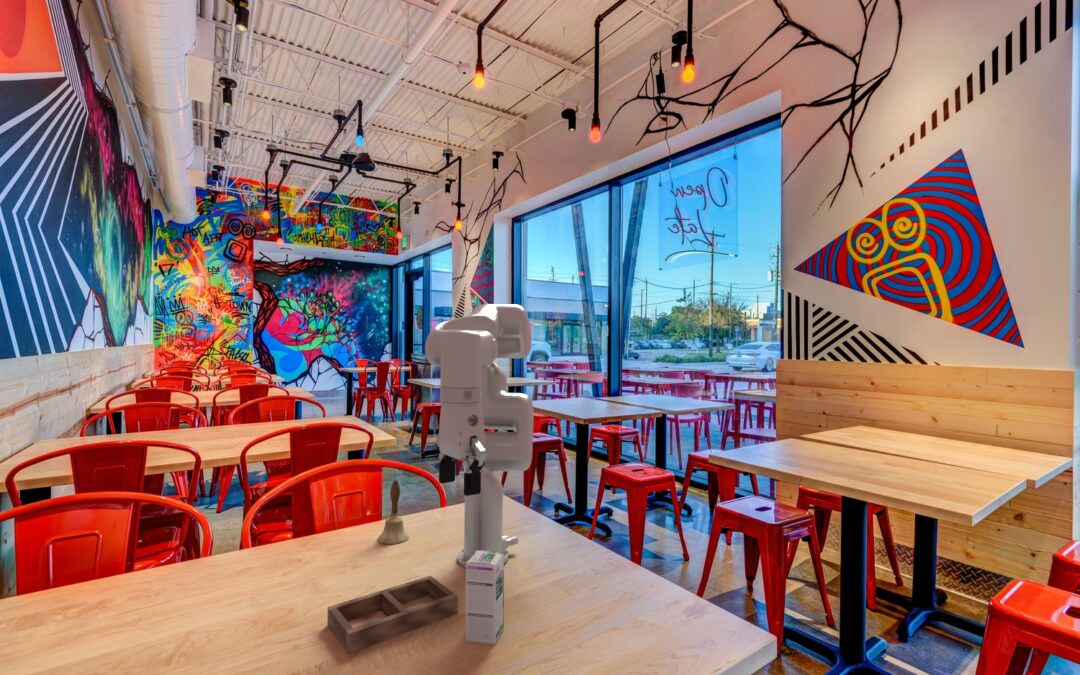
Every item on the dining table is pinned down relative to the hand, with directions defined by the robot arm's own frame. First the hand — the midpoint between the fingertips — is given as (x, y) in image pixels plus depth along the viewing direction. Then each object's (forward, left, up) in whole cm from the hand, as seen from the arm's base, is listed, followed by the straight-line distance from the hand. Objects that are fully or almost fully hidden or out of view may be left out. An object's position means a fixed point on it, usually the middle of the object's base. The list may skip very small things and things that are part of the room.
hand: (459, 488), depth 97 cm
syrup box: (-4, +4, -27) cm, 28 cm away
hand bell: (-10, -50, -27) cm, 58 cm away
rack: (+7, -12, -27) cm, 30 cm away
